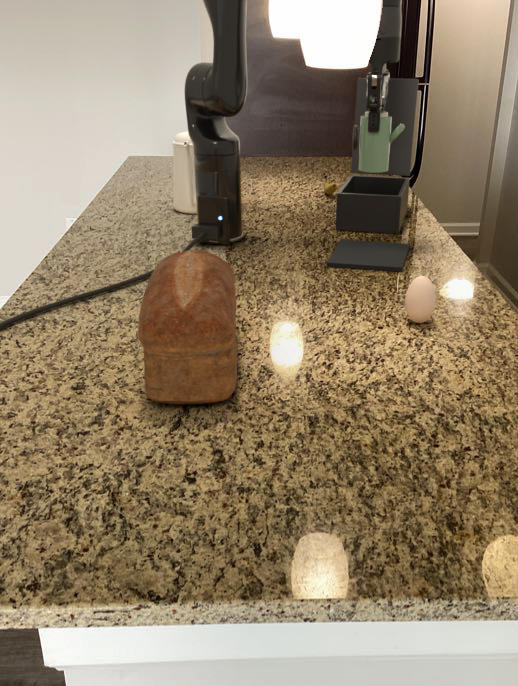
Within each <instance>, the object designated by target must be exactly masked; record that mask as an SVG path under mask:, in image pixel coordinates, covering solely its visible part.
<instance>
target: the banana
mask: <svg viewBox="0 0 518 686" xmlns="http://www.w3.org/2000/svg"><path fill="white" fill-rule="evenodd" d="M323 177H324V181H325V182H324V184H323V191H324V193H325V194H326V195H330V196H331V195H332V194H334V193H335V192H336V191H337V190H338V185H337V183H336V182H332V183H329V180H328V175H324V176H323Z"/></svg>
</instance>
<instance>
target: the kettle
mask: <svg viewBox="0 0 518 686" xmlns="http://www.w3.org/2000/svg"><path fill="white" fill-rule="evenodd" d="M368 114H369V111H366V112H365V115H362V116H361V123H360V144H359V166H358V170H359V171H362V172H370V173H380V172H386V171H388V169H389V154H390V143H392V142H393V141H394V140H395V139H396V138H397V136H398V135H399V134H400V133H401V132H402V131H403V130H404V128H405V126H404V124H400V125H399V126H398V127H397V128H396V129H395V130H394V132H393V133H392V134H391V122H392V117H391V116H388V112H386V111H381V114H380V130H379V132H378V133H370V132H368ZM357 147H358V126H357V125H355V126H354V125H353V127H352V150H353V149H354V150H356V149H357Z"/></svg>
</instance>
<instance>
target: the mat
mask: <svg viewBox="0 0 518 686" xmlns="http://www.w3.org/2000/svg"><path fill="white" fill-rule="evenodd" d="M410 248H411V245H410V243H403V242H402V243H399V242H385V241H370V240H369V241H368V240H353V239H352V240H351V239H340V241H338V243H337V245H336V247H335V249H334V250H333V252H332V254H331V255H330V257H329V258H328V260H327V262H326V268H327V267H328V268H341V269H342V268H343V269H355V270H356V269H357V270H373V271H386V272H387V271H388V272H401V273H402V272H403V270H404V266H405V263H406V261H407V257H408V254H409V251H410Z"/></svg>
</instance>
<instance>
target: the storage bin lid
mask: <svg viewBox="0 0 518 686" xmlns="http://www.w3.org/2000/svg"><path fill="white" fill-rule="evenodd" d="M419 82H420V81H419V79H418V78H389V83H388V94H387V97H386V98H387V100H386V105H385V107H384V111H386V112H388V116H391V117H392V122H391V134H392V133H393V132H394V130H395V129H396V128H397V127H398V126H399V125H400V124H404V126H405V128H404V130H403V131H402V132H401V133H400V134H399V135H398V136H397V138H396V139H395V140H394V141H393V142H392V143H390V154H389V169H388V171H386V172H380V173H370V172H362V171H359V170H358V166H359V144H360V123H361V116H362V115H365V112H366V111H368V109H367V107H366V104H367V95H366V94H367V77H358V78H357V83H356V97H355V108H354V109H355V110H354V124H353V127H354V126H355V125H357V126H358V147H357V149H356V150H354V149H353V148H352V153H351V163H350V164H351V166H350V174H357V175H358V174H360V175H378V176H379V175H380V176H381V175H382V176H403V177H404V176H405V177H410V176H411V169H412V157H413V147H414V138H415V137H414V135H415V126H416V114H417V102H418V93H419V91H418V90H419Z"/></svg>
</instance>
